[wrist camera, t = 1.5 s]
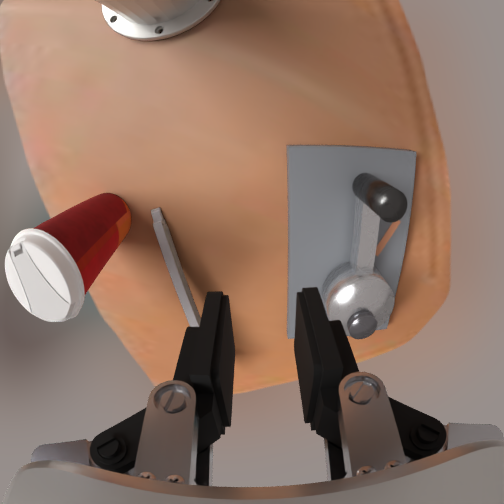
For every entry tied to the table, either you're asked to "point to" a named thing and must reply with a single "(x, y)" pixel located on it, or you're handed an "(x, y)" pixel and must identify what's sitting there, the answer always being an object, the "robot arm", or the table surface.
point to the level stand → (339, 213)
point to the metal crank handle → (364, 261)
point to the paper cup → (65, 256)
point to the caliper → (175, 268)
